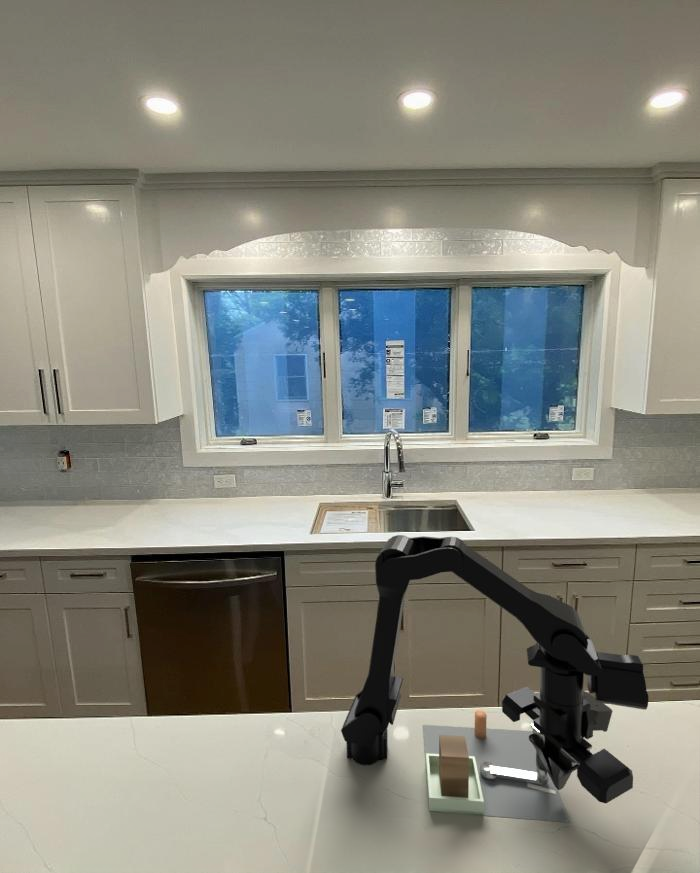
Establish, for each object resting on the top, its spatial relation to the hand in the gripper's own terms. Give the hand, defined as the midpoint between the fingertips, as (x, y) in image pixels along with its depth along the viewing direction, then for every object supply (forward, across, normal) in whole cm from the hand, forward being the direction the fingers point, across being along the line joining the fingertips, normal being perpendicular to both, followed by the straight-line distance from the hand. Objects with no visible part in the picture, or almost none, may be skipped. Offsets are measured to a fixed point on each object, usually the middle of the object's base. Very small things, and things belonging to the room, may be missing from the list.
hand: (559, 787), depth 68 cm
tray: (+1, +8, +14) cm, 16 cm away
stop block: (+1, +8, +14) cm, 16 cm away
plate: (+3, +9, +6) cm, 11 cm away
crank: (+1, +5, +4) cm, 7 cm away
